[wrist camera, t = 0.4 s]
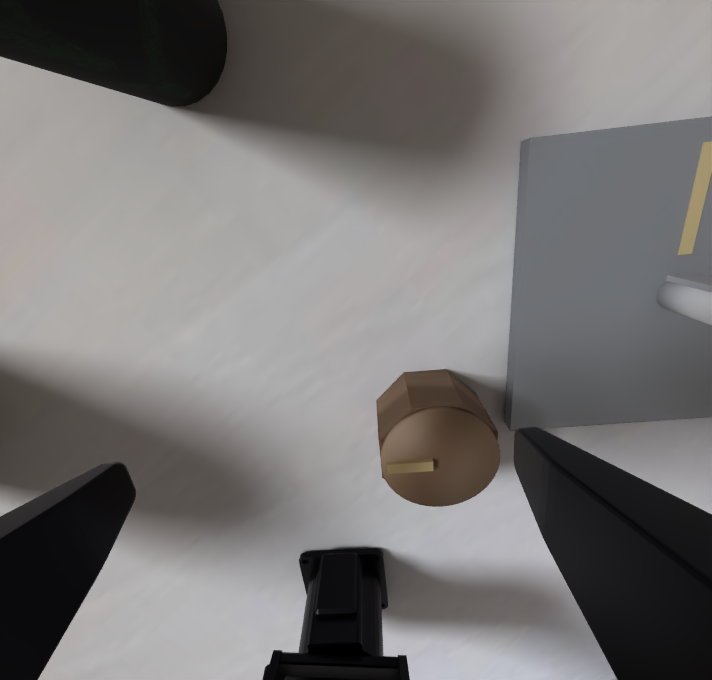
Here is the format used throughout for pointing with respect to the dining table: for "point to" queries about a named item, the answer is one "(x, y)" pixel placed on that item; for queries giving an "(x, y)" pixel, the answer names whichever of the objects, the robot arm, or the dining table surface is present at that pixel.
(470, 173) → the dining table surface
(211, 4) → the cup
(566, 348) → the base plate
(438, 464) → the knob
